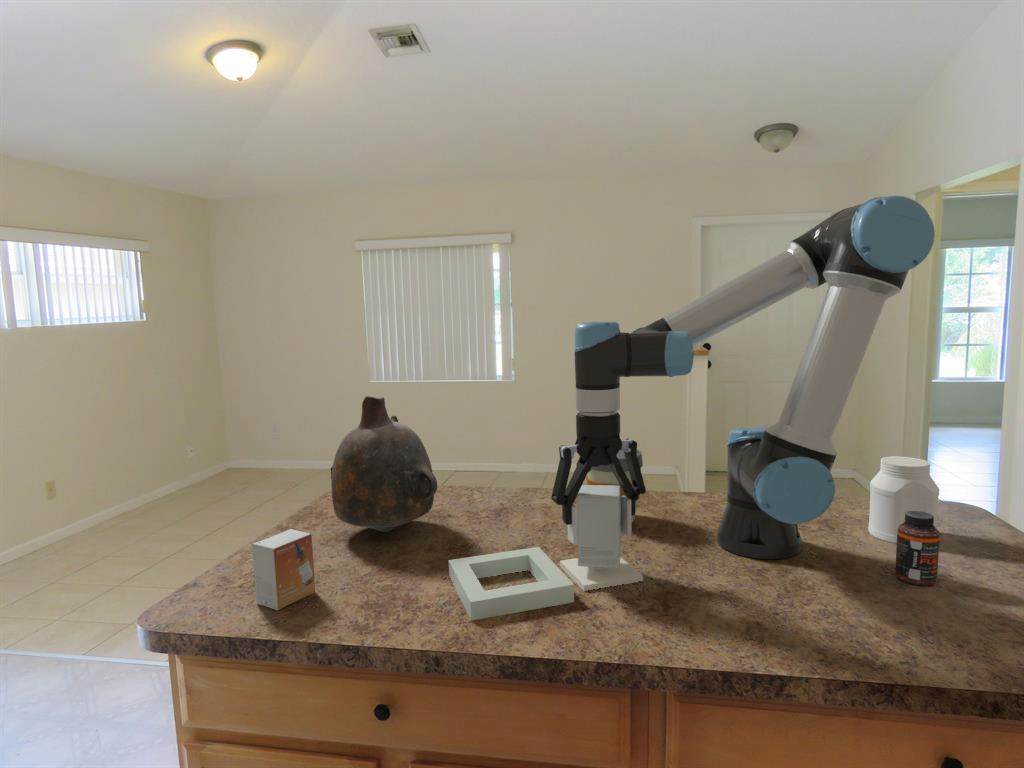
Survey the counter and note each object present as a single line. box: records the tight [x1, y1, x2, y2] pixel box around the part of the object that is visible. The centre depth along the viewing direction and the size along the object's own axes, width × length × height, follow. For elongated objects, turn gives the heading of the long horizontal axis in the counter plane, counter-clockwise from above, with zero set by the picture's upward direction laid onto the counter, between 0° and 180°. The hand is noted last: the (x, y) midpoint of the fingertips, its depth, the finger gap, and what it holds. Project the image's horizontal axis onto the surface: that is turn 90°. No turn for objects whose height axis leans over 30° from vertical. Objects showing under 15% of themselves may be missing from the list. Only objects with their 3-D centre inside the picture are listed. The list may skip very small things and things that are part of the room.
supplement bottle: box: [894, 511, 941, 587], centre depth 105 cm, size 6×6×11 cm
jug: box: [330, 395, 438, 533], centre depth 135 cm, size 24×21×30 cm
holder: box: [447, 546, 575, 622], centre depth 107 cm, size 17×17×3 cm
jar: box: [867, 455, 940, 544], centre depth 125 cm, size 12×10×15 cm
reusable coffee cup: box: [585, 447, 644, 524], centre depth 139 cm, size 13×13×15 cm
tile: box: [559, 556, 644, 592], centre depth 112 cm, size 11×11×1 cm
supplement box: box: [576, 484, 622, 568], centre depth 111 cm, size 7×7×13 cm
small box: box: [251, 528, 316, 611], centre depth 106 cm, size 8×6×10 cm
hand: (599, 537), depth 111 cm, fingers closed on supplement box, 10 cm apart
